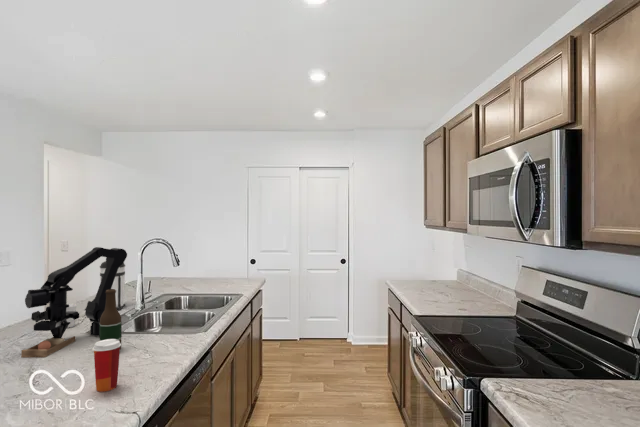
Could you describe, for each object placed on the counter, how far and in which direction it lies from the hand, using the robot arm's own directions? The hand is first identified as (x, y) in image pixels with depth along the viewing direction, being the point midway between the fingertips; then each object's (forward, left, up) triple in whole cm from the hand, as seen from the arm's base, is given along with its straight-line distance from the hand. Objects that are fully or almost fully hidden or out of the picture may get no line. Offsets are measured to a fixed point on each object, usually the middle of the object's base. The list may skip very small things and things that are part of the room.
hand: (57, 341), depth 150 cm
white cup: (+15, -28, -2) cm, 32 cm away
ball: (0, +7, +1) cm, 7 cm away
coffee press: (+12, -63, -2) cm, 64 cm away
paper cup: (-39, +36, -2) cm, 53 cm away
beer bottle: (-23, +4, -2) cm, 24 cm away
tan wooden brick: (0, +2, -1) cm, 3 cm away
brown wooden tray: (0, +4, -2) cm, 4 cm away
